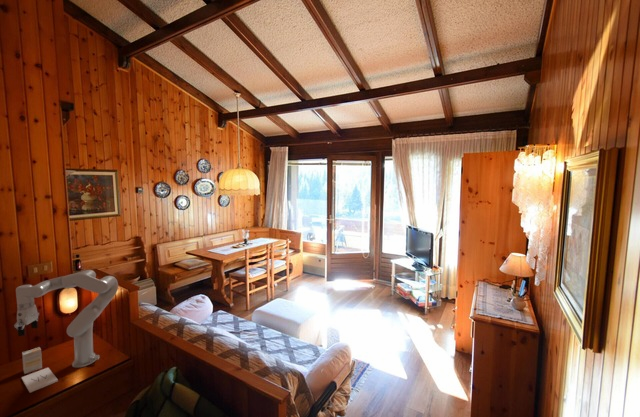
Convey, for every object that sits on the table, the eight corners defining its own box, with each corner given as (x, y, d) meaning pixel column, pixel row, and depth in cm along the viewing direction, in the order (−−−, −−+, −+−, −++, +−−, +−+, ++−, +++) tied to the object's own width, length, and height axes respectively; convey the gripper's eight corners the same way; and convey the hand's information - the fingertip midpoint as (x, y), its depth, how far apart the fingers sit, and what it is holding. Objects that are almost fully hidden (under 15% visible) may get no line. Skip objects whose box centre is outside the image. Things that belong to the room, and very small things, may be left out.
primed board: (57, 381, 172) (57, 379, 172) (29, 392, 163) (29, 390, 163) (48, 369, 184) (48, 367, 184) (21, 379, 174) (21, 377, 174)
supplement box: (41, 366, 187) (40, 346, 186) (42, 369, 184) (41, 349, 183) (23, 372, 181) (21, 352, 180) (23, 375, 178) (22, 354, 177)
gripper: (21, 310, 172) (23, 338, 173) (43, 299, 189) (45, 324, 190) (6, 311, 171) (9, 339, 172) (30, 300, 188) (32, 325, 189)
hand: (28, 331), depth 181 cm, fingers open, 9 cm apart
